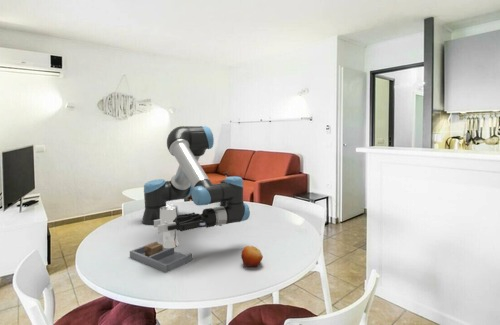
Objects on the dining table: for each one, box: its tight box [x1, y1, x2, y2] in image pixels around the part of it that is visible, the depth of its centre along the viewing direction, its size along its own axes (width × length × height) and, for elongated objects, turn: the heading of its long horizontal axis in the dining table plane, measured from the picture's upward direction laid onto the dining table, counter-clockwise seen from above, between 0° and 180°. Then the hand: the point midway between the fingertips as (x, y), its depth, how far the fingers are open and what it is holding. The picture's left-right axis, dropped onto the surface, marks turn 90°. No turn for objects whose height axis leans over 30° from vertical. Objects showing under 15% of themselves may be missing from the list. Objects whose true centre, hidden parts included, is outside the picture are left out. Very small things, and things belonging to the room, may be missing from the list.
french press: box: [219, 171, 230, 207], centre depth 199 cm, size 12×9×23 cm
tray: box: [129, 241, 196, 274], centre depth 115 cm, size 23×14×3 cm, turn 54°
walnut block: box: [144, 241, 163, 257], centre depth 118 cm, size 5×5×4 cm
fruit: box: [240, 245, 263, 268], centre depth 109 cm, size 8×8×8 cm
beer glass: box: [160, 205, 180, 249], centre depth 110 cm, size 7×7×15 cm
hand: (156, 226), depth 108 cm, fingers closed on beer glass, 7 cm apart
